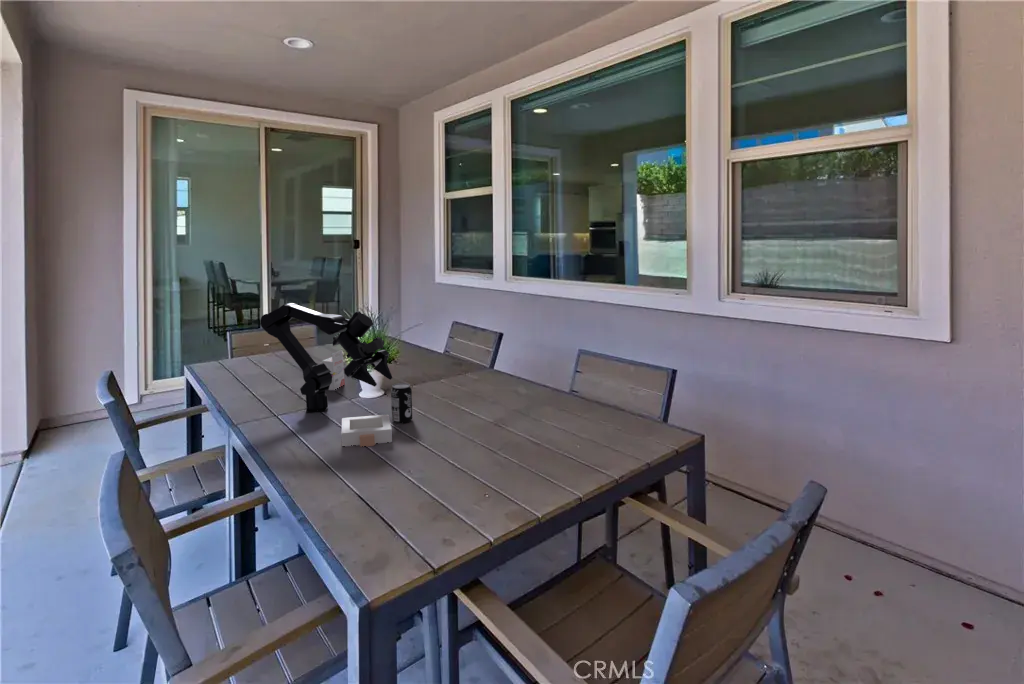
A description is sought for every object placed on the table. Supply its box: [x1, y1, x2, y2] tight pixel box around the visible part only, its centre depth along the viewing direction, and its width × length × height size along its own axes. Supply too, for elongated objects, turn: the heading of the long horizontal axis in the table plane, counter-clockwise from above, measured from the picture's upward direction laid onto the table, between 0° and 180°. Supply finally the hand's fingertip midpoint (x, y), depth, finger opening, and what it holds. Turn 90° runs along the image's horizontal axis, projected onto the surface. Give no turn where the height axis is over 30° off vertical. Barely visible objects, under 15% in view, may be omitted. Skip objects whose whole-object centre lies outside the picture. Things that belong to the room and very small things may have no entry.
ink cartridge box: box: [321, 349, 346, 391], centre depth 217 cm, size 9×5×15 cm, turn 168°
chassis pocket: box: [340, 414, 393, 448], centre depth 165 cm, size 14×16×4 cm
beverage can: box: [390, 382, 413, 424], centre depth 178 cm, size 7×7×12 cm
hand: (383, 382), depth 179 cm, fingers open, 9 cm apart
